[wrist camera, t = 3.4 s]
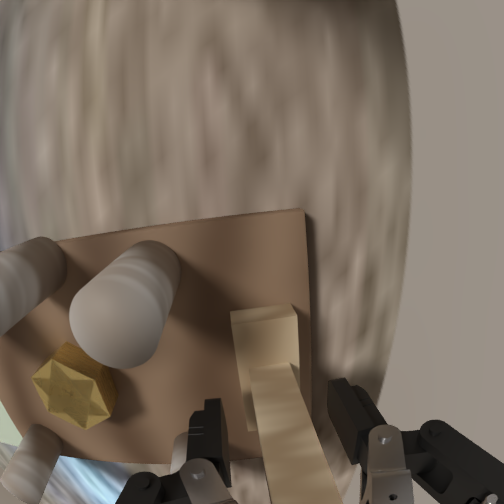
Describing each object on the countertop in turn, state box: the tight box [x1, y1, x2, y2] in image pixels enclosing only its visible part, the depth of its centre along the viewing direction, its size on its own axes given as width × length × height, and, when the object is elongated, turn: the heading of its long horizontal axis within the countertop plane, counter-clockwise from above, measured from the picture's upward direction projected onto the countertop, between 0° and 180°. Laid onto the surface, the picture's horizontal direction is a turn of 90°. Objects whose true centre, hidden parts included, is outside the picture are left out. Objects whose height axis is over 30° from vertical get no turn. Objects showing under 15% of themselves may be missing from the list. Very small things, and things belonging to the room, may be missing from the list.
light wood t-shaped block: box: [230, 303, 343, 504], centre depth 11 cm, size 3×7×10 cm, turn 6°
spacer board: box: [0, 208, 312, 504], centre depth 13 cm, size 22×16×7 cm
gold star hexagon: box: [31, 341, 119, 430], centre depth 14 cm, size 5×4×2 cm
